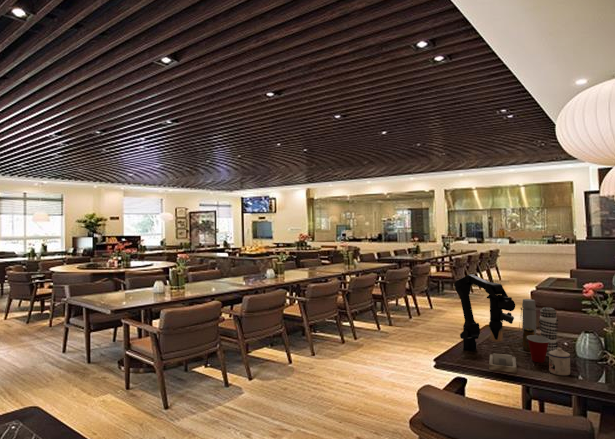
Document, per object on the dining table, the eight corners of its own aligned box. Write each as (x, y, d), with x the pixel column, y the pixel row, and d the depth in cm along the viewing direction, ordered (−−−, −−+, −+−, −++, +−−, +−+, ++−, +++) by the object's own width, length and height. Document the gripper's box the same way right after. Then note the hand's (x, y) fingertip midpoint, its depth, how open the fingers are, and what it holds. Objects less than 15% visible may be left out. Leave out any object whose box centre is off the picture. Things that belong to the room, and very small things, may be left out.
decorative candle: (546, 350, 241) (545, 305, 242) (562, 355, 233) (561, 308, 233) (535, 353, 237) (534, 307, 238) (551, 357, 229) (550, 310, 229)
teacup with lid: (546, 368, 212) (546, 344, 212) (567, 370, 210) (566, 346, 210) (553, 377, 201) (553, 351, 201) (575, 378, 198) (575, 353, 198)
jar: (489, 340, 225) (489, 329, 225) (490, 338, 230) (490, 326, 230) (503, 342, 222) (502, 330, 222) (503, 339, 228) (502, 327, 228)
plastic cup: (538, 365, 217) (537, 341, 217) (522, 358, 228) (521, 336, 228) (555, 363, 220) (555, 339, 220) (539, 357, 231) (538, 334, 231)
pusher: (493, 364, 218) (493, 354, 218) (493, 363, 220) (493, 353, 220) (511, 367, 214) (511, 356, 214) (511, 365, 217) (511, 355, 217)
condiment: (538, 351, 241) (538, 329, 241) (530, 353, 237) (529, 331, 237) (525, 348, 247) (525, 327, 248) (517, 350, 243) (517, 329, 243)
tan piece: (489, 369, 212) (489, 364, 212) (490, 359, 228) (490, 354, 228) (516, 372, 207) (516, 367, 207) (515, 361, 223) (515, 356, 223)
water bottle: (536, 341, 262) (536, 299, 262) (535, 344, 255) (535, 301, 255) (520, 339, 267) (519, 298, 267) (518, 342, 260) (517, 300, 260)
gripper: (512, 312, 215) (513, 343, 214) (512, 306, 232) (513, 335, 231) (488, 310, 219) (489, 341, 219) (490, 304, 236) (490, 333, 236)
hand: (496, 338), depth 226 cm, fingers closed on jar, 6 cm apart
